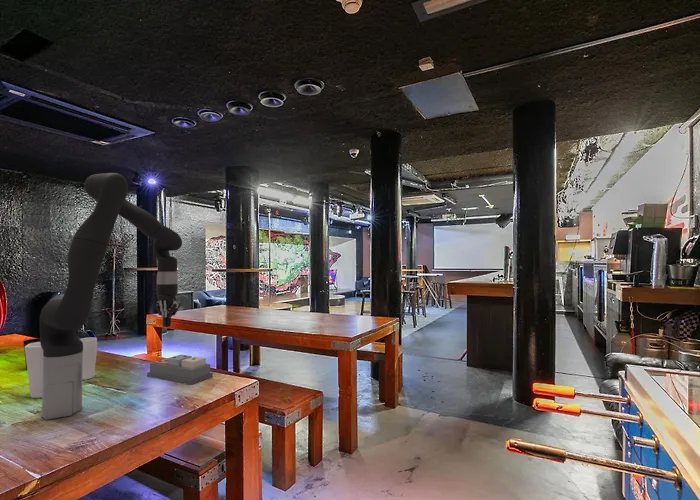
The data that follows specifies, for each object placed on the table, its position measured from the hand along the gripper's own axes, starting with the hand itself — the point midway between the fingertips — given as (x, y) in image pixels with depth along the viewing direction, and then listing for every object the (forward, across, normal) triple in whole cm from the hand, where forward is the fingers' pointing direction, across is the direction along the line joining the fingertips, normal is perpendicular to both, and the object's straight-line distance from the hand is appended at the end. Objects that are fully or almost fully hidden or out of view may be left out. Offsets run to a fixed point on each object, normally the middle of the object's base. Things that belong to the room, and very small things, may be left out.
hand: (166, 326), depth 141 cm
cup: (+19, +60, +16) cm, 65 cm away
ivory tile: (+15, -15, 0) cm, 21 cm away
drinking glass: (+19, +24, +16) cm, 35 cm away
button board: (+19, -8, 0) cm, 20 cm away
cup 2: (+19, +19, +31) cm, 41 cm away
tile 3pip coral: (+17, 0, 0) cm, 17 cm away
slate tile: (+15, -7, 0) cm, 17 cm away
